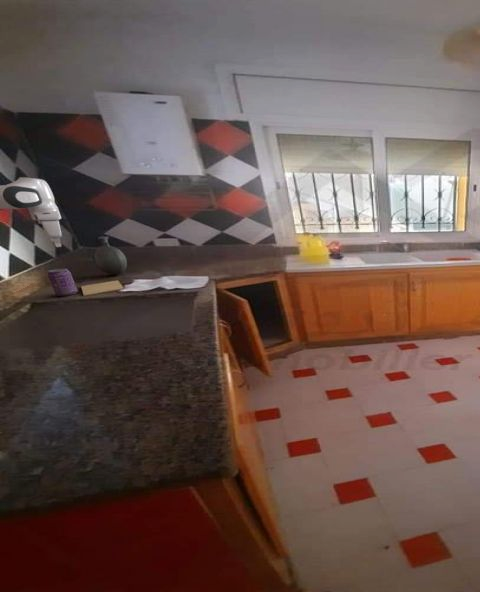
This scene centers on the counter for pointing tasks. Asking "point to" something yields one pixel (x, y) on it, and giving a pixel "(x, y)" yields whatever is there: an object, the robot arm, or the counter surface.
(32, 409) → the counter surface
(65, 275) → the beverage can
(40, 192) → the robot arm
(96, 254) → the flask
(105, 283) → the mat
